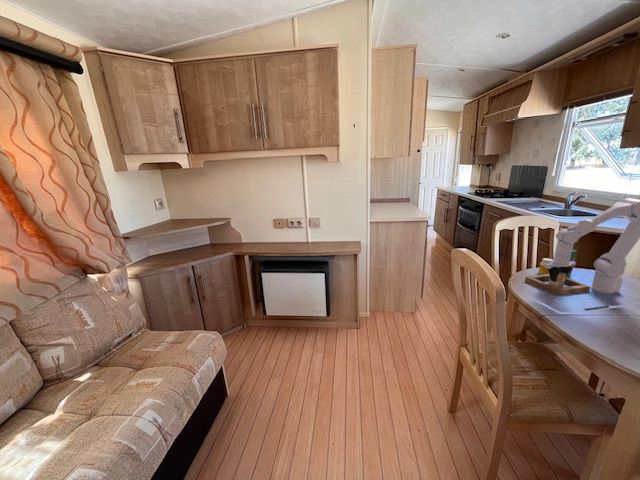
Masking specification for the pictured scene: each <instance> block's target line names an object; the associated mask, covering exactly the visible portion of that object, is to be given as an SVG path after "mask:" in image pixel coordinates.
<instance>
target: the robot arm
mask: <svg viewBox="0 0 640 480" xmlns="http://www.w3.org/2000/svg"><path fill="white" fill-rule="evenodd" d="M621 216H626V217H627V218H628V220H629V223H628V224H627V226H626V227H625V228H624V230H623V232H622V233H621V234H620V236H618V238H617V240H616V241H615V242H614V245H612V247H611V249H610V250H609V252H605V253H604V254H602V255H601V256H600V257H598V258H597V259H596V260H595V261H594V262H593V267H594V268H595V273H594V276H593V280H592V282H591V283H592V284H591V287H590V289H592V290H593V291H595V292H597V293H602V294H608V295H609V294H614V293H619V294H621V292H620V290H621V287H622V285H623V278H622V275H624V273H625V272H626V271H625V268H626V266H627V264H628V263H627V261H626V258H627V256H628V255H629V254H630V252H631V251H632V249H633V248H634V247H635V245H636V244H637V243H638V241H639V240H640V199H637V198H633V197H627V198H623V199H621V200H619V201H617V202H615V203H614V204H613V205H612V206H610V207H609V208H607V209H606V210H604V211H603V212H601V213H599V214H597V215H595V216H594V217H592V218H591V219H583V220H582V219H581V220H578V222H577V223H576V224H573V225H571V226H568V227H567V228H564V229H563V228H562V229H560V230H559V231H558V232H557V233H556V234H555V238H556V239H557V243H556V247H555V251H554V254H553V255H554V256H553V259H552V260H551V262H550V263H547V264H545V268H547V269H548V271H549V275H550V280H551V281H553V282H555V281H556V279H557V276H558V274H559V273H560V272H562V273H565V274H566V277H568V276H567V275H568V273H569V272H571V271H573V270H574V268H572V267H570V266H573V267H575V266H576V264H577V262H576V261H574V262H573V261H570V257H571V253H572V249H574V244H575V243H577V242H578V241H579V239H580V238H581V237H583V236H585V235H587V234H590V233H591V232H593V231H595V230H596V227H597V226H599V225H600V224H604V223H605V222H607V221H609V220H611V219H614V218H616V217H621ZM557 267H558V268H557ZM571 273H572V272H571ZM566 277H565V278H566Z"/></svg>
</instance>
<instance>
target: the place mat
mask: <svg viewBox="0 0 640 480" xmlns="http://www.w3.org/2000/svg"><path fill="white" fill-rule="evenodd" d="M607 308H608V309H609V308H610V306H609V305H604V306H596V307H588V308H584V310H585V311H594V310H602V309H607Z"/></svg>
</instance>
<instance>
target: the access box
mask: <svg viewBox="0 0 640 480" xmlns="http://www.w3.org/2000/svg"><path fill="white" fill-rule="evenodd" d="M549 278H550V275H549V274H544V275H540V274H537V275H535V274H534V275H527V276H525V279H524V281H525V282H527V283H528V284H530V285H533V286H534V287H537V288H539V289H541V290H544V291H545V292H547V293H550V294H553V295H555V296H562V295H569V294H578V293H586V292H590V289H591V286H592V285H591V286H590V285H587V284H585V283H583V282H580V281H577V280H575V279H573V278H569V277H568V276H566V278H565V282H564V284H568V285H570V286H565V285H564V286H563V287H560V288H555V287H553V286H551V285H548V282H544V281H545V280H547V281H548V280H549Z"/></svg>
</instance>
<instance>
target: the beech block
mask: <svg viewBox="0 0 640 480" xmlns="http://www.w3.org/2000/svg"><path fill="white" fill-rule="evenodd" d="M565 277H567V276H566V274H565V273H562V272H560V273H559V274H558V276H557V279H556V281H555V282H553V281H551V280H550V278H549V279H548V282H547V283H548V285H551V286H553V287H555V288H560V287H563V286H565Z"/></svg>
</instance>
